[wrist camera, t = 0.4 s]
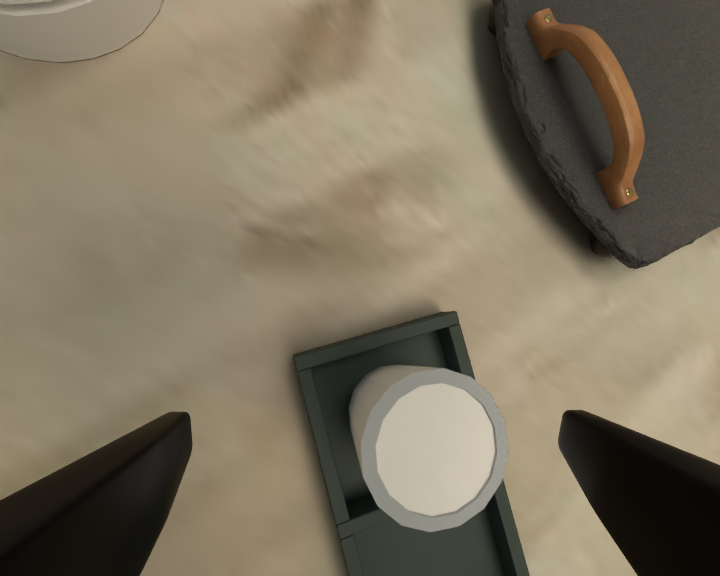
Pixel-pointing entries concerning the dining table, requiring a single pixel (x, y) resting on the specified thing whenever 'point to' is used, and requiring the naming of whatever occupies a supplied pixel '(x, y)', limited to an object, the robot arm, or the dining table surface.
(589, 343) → the dining table surface
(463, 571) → the divided green tray
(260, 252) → the dining table surface
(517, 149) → the dining table surface
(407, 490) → the shot glass
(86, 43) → the honey pot
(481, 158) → the dining table surface
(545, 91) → the serving tray
